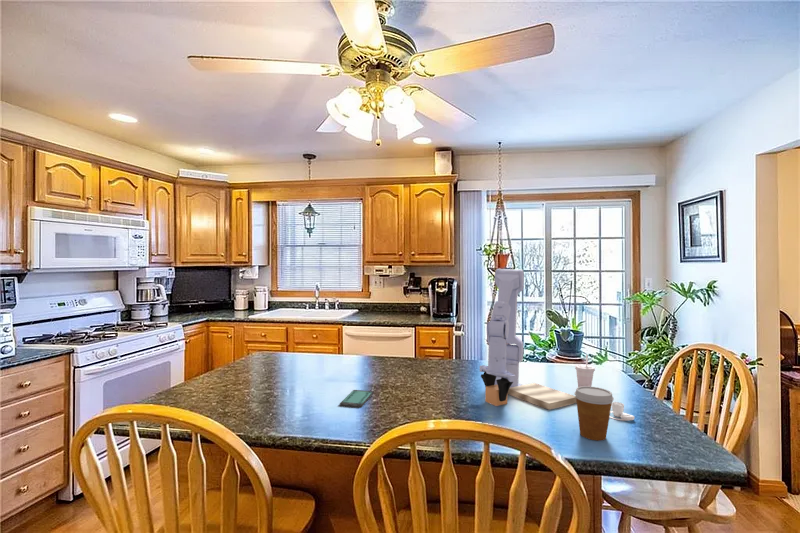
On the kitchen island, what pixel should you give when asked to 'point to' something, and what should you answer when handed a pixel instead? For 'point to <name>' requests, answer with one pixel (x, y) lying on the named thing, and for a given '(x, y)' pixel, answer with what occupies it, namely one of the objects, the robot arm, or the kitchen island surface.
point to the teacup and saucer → (620, 412)
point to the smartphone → (356, 398)
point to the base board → (542, 396)
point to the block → (493, 395)
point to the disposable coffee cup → (593, 411)
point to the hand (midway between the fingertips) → (496, 398)
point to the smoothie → (584, 374)
